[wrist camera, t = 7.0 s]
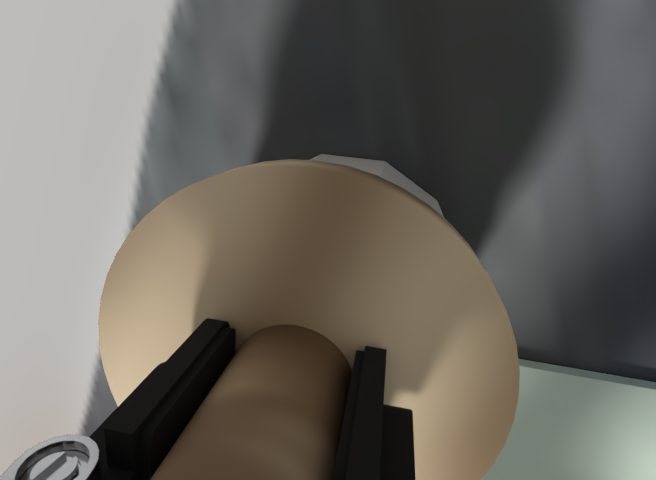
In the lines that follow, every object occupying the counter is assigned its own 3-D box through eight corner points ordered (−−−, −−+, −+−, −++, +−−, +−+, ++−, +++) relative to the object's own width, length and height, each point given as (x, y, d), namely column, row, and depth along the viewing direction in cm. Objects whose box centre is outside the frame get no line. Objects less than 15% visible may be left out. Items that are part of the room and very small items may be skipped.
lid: (556, 187, 9) (827, 320, 3) (462, 535, 13) (515, 896, 7) (112, 137, 11) (-236, 168, 5) (137, 462, 14) (-48, 709, 8)
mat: (731, 395, 17) (742, 404, 17) (636, 588, 21) (643, 601, 20) (440, 345, 19) (442, 352, 18) (401, 532, 22) (401, 543, 22)
